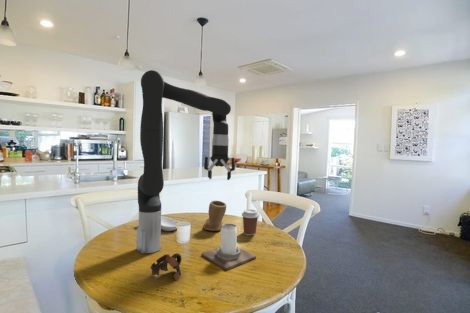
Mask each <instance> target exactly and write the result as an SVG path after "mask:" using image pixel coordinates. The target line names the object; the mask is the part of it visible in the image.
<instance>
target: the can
mask: <svg viewBox="0 0 470 313" xmlns="http://www.w3.org/2000/svg"><path fill="white" fill-rule="evenodd" d="M237 232H238V229H237V225H235V224H234V223H224V224H222V228H221V230H220V246H221V253H224V254H234V253H236V247H237V243H238V242H237V240H238V239H237V237H238V233H237Z"/></svg>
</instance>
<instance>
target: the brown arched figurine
mask: <svg viewBox="0 0 470 313" xmlns="http://www.w3.org/2000/svg"><path fill="white" fill-rule="evenodd" d="M181 262H182V256H181V254H180V253H174V254H172V256H171V255H170V254H169V253H167V254H163V255H162V256H160V257H159V258H158V259H156V263H155V262H153V263H152V265H150V269H151V275H153V276H154V275H156V276H158V277H159V276H160V272H161V271H163V272H167V271H169V269H168V265H169V266H170V267H171V268H173V270H176V272H175V273H174V274H173V278H174V281H175V282H177V281H178V280H179V279H180V278H181V276H182V272H181V269H180V268H181V267H180V265H181ZM160 270H161V271H160Z"/></svg>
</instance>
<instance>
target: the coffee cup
mask: <svg viewBox="0 0 470 313" xmlns="http://www.w3.org/2000/svg"><path fill="white" fill-rule="evenodd" d="M259 216H260V213H259V212H258V211H257V210H255V209H244V210H243V212H241V217H242V223H243V227H242V228H243V235H246V236H248V235H253V236H255V235H256V234H257V226H258V218H259Z"/></svg>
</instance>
